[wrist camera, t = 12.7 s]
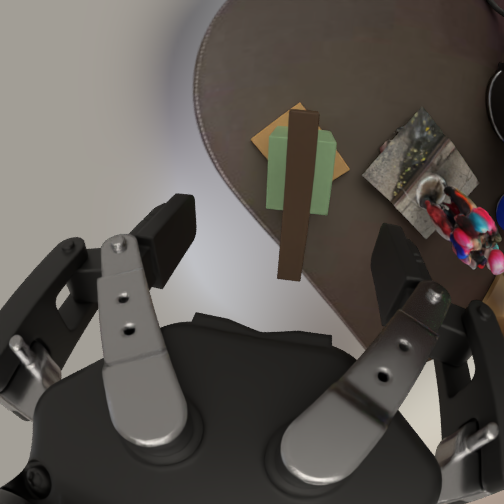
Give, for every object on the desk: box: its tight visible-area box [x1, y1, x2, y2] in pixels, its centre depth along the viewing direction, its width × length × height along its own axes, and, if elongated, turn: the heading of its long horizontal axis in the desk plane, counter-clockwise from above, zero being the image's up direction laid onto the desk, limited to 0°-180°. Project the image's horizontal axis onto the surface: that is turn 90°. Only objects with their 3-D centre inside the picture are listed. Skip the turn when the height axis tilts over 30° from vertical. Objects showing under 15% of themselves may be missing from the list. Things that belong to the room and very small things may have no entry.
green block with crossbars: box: [266, 109, 337, 281], centre depth 21 cm, size 11×5×12 cm, turn 179°
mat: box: [251, 103, 350, 181], centre depth 25 cm, size 8×6×1 cm
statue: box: [362, 107, 504, 275], centre depth 18 cm, size 11×9×15 cm
